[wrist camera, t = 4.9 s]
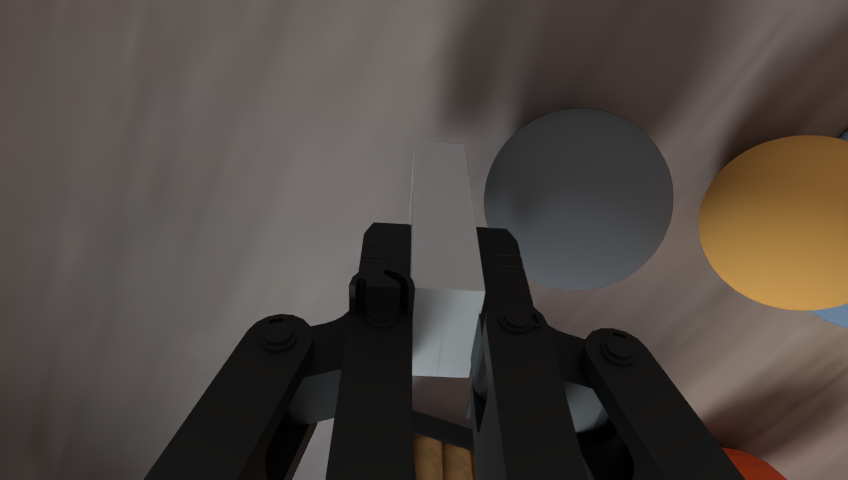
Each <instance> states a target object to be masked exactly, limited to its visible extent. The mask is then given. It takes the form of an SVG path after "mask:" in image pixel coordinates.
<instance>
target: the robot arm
mask: <svg viewBox="0 0 848 480" xmlns="http://www.w3.org/2000/svg"><path fill="white" fill-rule="evenodd" d="M520 255H521V254H520V250H519V245H518V241H517V240H516V239H515V238H514V236H513V235H512V234H511V233H510V232H509V231H508V230H507V229H503V228H485V227H476V224H475V218H474V211H473V204H472V197H471V190H470V184H469V177H468V170H467V163H466V156H465V149H464V144H454V143H438V142H423V141H414V152H413V166H412V181H411V196H410V210H409V224H392V223H373V224H372V225H371V226H370V227H369V229H368V230H367V231H366V232H365V233H364V238H363V245H362V252H361V260H360V266H359V272H358V273H357V274H356V275H355V276H353V278H352V280H351V282H350V284H349V311H348V312H347V313H346V314H344V315H343V316H342V317H340V318H338V319H336V320H334V321H331V322H328V323H325V324H320V325H315V326H310V325H309V324H308V323H307V322H306V321H305V320H304V319H301V318H299V317H297V316H294V315H286V314H278V315H273V316H268V317H266V318H264V319H262V320H260V321H258V322H256V323H255V324H254V325H253V326H252V327H251V328H250V329H249V330H248V331H247V332H246V334H245V335H244V337H243V338H242V339H241V341H240V342H239V344H238V345H237V347H236V348H235V350H234V351H233V352H232V354H231V355H230V357H229V358H228V360H227V361H226V362H225V364H224V365H223V367H222V368H221V370H220V371H219V372H218V374H217V375H216V377H215V378H214V380H213V381H212V382H211V384H210V385H209V387H208V388H207V390H206V391H205V393H204V394H203V395H202V397H201V398H200V400H199V401H198V403H197V404H196V405H195V407H194V408H193V410H192V411H191V413H190V414H189V415H188V417H187V418H186V420H185V421H184V423H183V424H182V425H181V427H180V428H179V430H178V431H177V433H176V434H175V436H174V437H173V438H172V440H171V441H170V443H169V444H168V446H167V447H166V448H165V450H164V451H163V453H162V454H161V456H160V457H159V458H158V460H157V461H156V463H155V464H154V466H153V467H152V468H151V470H150V471H149V473H148V474H147V476H146V477H145V479H144V480H292V478H293V476H294V474H295V472H296V470H297V467H298V465H299V463H300V461H301V459H302V457H303V454H304V452H305V450H306V448H307V446H308V443H309V441H310V439H311V437H312V435H313V433H314V430H315V428H316V426H317V422H319V421H323V420H327V419H331V418H334V417H335V418H334V425H333V432H332V438H331V445H330V452H329V459H328V466H327V473H326V480H411V437H412V376H435V377H458V378H469V373H470V368H471V370H472V380H473V383H472V388H471V393H470V398H469V402H468V407H467V413H466V419H471V417H472V429H473V440H474V452H475V463H476V475H477V480H745V478H744V477H743V476H742V474H741V473H740V472H739V470H738V469H737V468H736V466H735V465H734V464H733V462H732V461H731V460H730V458H729V457H728V456H727V454H726V453H725V452H724V450H723V449H722V448H721V446H720V445H719V444H718V442H717V441H716V440H715V438H714V437H713V436H712V434H711V433H710V432H709V430H708V429H707V428H706V426H705V425H704V424H703V422H702V421H701V420H700V418H699V417H698V416H697V414H696V413H695V412H694V410H693V409H692V408H691V406H690V405H689V404H688V402H687V401H686V400H685V398H684V397H683V396H682V394H681V393H680V392H679V390H678V389H677V388H676V386H675V385H674V384H673V382H672V381H671V380H670V378H669V377H668V376H667V374H666V373H665V372H664V370H663V369H662V368H661V366H660V365H659V364H658V362H657V361H656V360H655V358H654V357H653V356H652V354H651V353H650V352H649V350H648V349H647V348H646V347H645V346H644V345H643V344H642V343H641V342H640V341H639V340H638V339H637V338H635V337H634V336H632V335H630V334H628V333H627V332H624V331H621V330H617V329H614V328H601V329H598V330H595V331H592V332H591V333H590V335H589V336H588V337H587V338H586V339H582V338H579V337H576V336H572V335H569V334H565V333H563V332H560V331H558V330H555V329H554V328H552V327H550V326H549V325H547V322H546V320H545V318H544V317H543V315H542V314H541V313H540V312H539V311H538V310H536V309H535V308H534V306H533V302H532V298H531V294H530V290H529V286H528V282H527V278H526V274H525V270H524V268H523V262H522V258H521V256H520Z"/></svg>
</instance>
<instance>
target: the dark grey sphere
mask: <svg viewBox="0 0 848 480" xmlns="http://www.w3.org/2000/svg"><path fill="white" fill-rule="evenodd" d="M672 209H673V185H672V180H671V175H670V172H669V169H668V166H667V164H666V161H665V159H664V158H663V156H662V154H661V152H660V151H659V149H658V148H657V146H656V145H655V143H654V142H653V141H652V140H651V139H650V138H649V136H648V135H647V134H645V133H644V132H643V131H642V130H641V129H639V128H638V127H637V126H636V125H634V124H633V123H631V122H629V121H628V120H626V119H624V118H622V117H620V116H617V115H615V114H612V113H609V112H605V111H601V110H596V109H585V108H575V109H566V110H560V111H556V112H552V113H549V114H547V115H544V116H542V117H540V118H537V119H535V120H533V121H532V122H530V123H528V124H527V125H525V126H524V127H522V128H521V129H519V130H518V131H517V132H516V133H515V134H514V135H513V136H512V137H511V138H510V139H509V140H508V141H507V142H506V143H505V144H504V146H503V147H502V148H501V150H500V151H499V153H498V154H497V156H496V158H495V160H494V161H493V163H492V166H491V168H490V171H489V174H488V177H487V180H486V185H485V193H484V211H485V218H486V222H487V226H488V228H503V229H507V230H508V231H509V232H510V233H511V234H512V235H513V236H514V238H515V239H516V240H517V241H518V245H519V250H520V254H521V255H520V256H521V258H522V262H523V268H524V270H525V274H526V277H528V278H530V279H531V280H533V281H535V282H538V283H540V284H542V285H545V286H548V287H552V288H556V289H561V290H571V291H581V290H593V289H597V288H601V287H605V286H608V285H611V284H614V283H616V282H618V281H621V280H622V279H624V278H626V277H628V276H629V275H631V274H632V273H634V272H635V271H637V270H638V269H639V268H640V267H641V266H642V265H644V264H645V263H646V262H647V261H648V260H649V259H650V257H651V256H652V255H653V254H654V253H655V251H656V250H657V248H658V247H659V245H660V244H661V242H662V240H663V238H664V236H665V234H666V231H667V229H668V226H669V224H670V220H671V216H672Z"/></svg>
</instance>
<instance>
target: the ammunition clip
mask: <svg viewBox="0 0 848 480" xmlns="http://www.w3.org/2000/svg"><path fill="white" fill-rule="evenodd" d="M411 480H477V475H476V463H475V452H474V440H473V430H470V429H467V428H464V427H462V426H459V425H456V424H453V423H450V422H447V421H444V420H441V419H438V418H435V417H432V416H429V415H426V414H423V413H420V412H417V411H414V410H412V437H411Z"/></svg>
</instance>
